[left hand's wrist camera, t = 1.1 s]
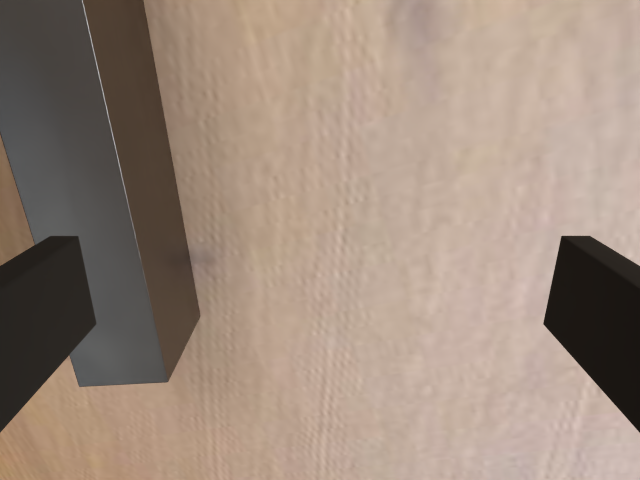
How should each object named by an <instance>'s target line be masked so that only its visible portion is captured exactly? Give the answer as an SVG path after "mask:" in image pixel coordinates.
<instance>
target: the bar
mask: <svg viewBox="0 0 640 480" xmlns="http://www.w3.org/2000/svg"><path fill="white" fill-rule="evenodd" d="M0 134H1V137H2V141H3V144H4V147H5V150H6V153H7V157H8V160H9V163H10V166H11V170H12V173H13V176H14V179H15V182H16V186H17V189H18V192H19V195H20V198H21V202H22V205H23V208H24V211H25V214H26V218H27V221H28V224H29V227H30V230H31V234H32V237H33V240H34V243H35V245H36V244H38V243H39V242H41V241H43V240H44V239H46V238H48V237H49V236H79V241H80V246H81V251H82V256H83V261H84V265H85V270H86V275H87V280H88V285H89V290H90V294H91V299H92V304H93V309H94V314H95V319H96V323H97V324H96V325H95V326H94V328H93V329H92V330H91V331H90V332H89V333H88V334H87V335H86V337H85V338H84V339H83V340H82V341H81V342H80V343H79V344H78V346H77V347H76V348H75V349H74V350H73V351H72V352H71V353H70V359H71V362H72V365H73V368H74V371H75V375H76V378H77V381H78V384H79V387H86V386H105V385H124V384H143V383H162V382H168V381H169V379H170V377H171V375H172V373H173V371H174V369H175V367H176V365H177V363H178V361H179V359H180V357H181V355H182V353H183V351H184V348H185V346H186V344H187V342H188V340H189V338H190V336H191V334H192V332H193V330H194V328H195V326H196V324H197V322H198V320H199V318H200V312H199V306H198V301H197V295H196V290H195V284H194V279H193V273H192V268H191V262H190V257H189V251H188V246H187V240H186V235H185V229H184V223H183V218H182V212H181V207H180V201H179V196H178V190H177V185H176V179H175V174H174V168H173V163H172V157H171V152H170V146H169V141H168V135H167V130H166V124H165V118H164V113H163V107H162V102H161V96H160V91H159V85H158V80H157V74H156V69H155V63H154V58H153V52H152V47H151V41H150V36H149V30H148V25H147V19H146V14H145V8H144V2H143V0H0Z"/></svg>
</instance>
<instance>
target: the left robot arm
mask: <svg viewBox="0 0 640 480" xmlns="http://www.w3.org/2000/svg"><path fill="white" fill-rule="evenodd" d="M96 324H97V323H96V319H95V314H94V309H93V304H92V299H91V294H90V290H89V285H88V280H87V275H86V270H85V265H84V261H83V256H82V251H81V246H80V241H79V236H49V237H48V238H46V239H44V240H43V241H41V242H39V243H38V244H36V245H34V246H33V247H31V248H29V249H28V250H26V251H24V252H23V253H21V254H20V255H18V256H16V257H15V258H13V259H11V260H10V261H8V262H6V263H5V264H3V265H1V266H0V432H1V431H2V430H3V429H4V428H5V427H6V425H7V424H8V423H9V422H10V421H11V420H12V419H13V418H14V416H15V415H16V414H17V413H18V412H19V411H20V410H21V409H22V407H23V406H24V405H25V404H26V403H27V402H28V401H29V400H30V398H31V397H32V396H33V395H34V394H35V393H36V392H37V391H38V389H39V388H40V387H41V386H42V385H43V384H44V383H45V382H46V380H47V379H48V378H49V377H50V376H51V375H52V374H53V373H54V371H55V370H56V369H57V368H58V367H59V366H60V365H61V364H62V362H63V361H64V360H65V359H66V358H67V357H68V356H69V355H70V353H71V352H72V351H73V350H74V349H75V348H76V347H77V346H78V344H79V343H80V342H81V341H82V340H83V339H84V338H85V337H86V335H87V334H88V333H89V332H90V331H91V330H92V329H93V328H94V326H95V325H96ZM543 324H544V325H545V326H546V328H547V329H548V330H549V331H550V332H551V333H552V334H553V335H554V337H555V338H556V339H557V340H558V341H559V342H560V343H561V344H562V346H563V347H564V348H565V349H566V350H567V351H568V352H569V353H570V355H571V356H572V357H573V358H574V359H575V360H576V361H577V362H578V364H579V365H580V366H581V367H582V368H583V369H584V370H585V371H586V373H587V374H588V375H589V376H590V377H591V378H592V379H593V380H594V382H595V383H596V384H597V385H598V386H599V387H600V388H601V389H602V391H603V392H604V393H605V394H606V395H607V396H608V397H609V398H610V400H611V401H612V402H613V403H614V404H615V405H616V406H617V407H618V409H619V410H620V411H621V412H622V413H623V414H624V415H625V416H626V418H627V419H628V420H629V421H630V422H631V423H632V424H633V425H634V427H635V428H636V429H637V430H638V431H639V432H640V266H639V265H637V264H635V263H634V262H632V261H630V260H629V259H627V258H625V257H624V256H622V255H620V254H619V253H617V252H616V251H614V250H612V249H611V248H609V247H607V246H606V245H604V244H602V243H601V242H599V241H597V240H596V239H594V238H592V237H591V236H561V241H560V246H559V251H558V256H557V261H556V265H555V270H554V275H553V280H552V285H551V290H550V294H549V299H548V304H547V309H546V314H545V319H544V323H543Z"/></svg>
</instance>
